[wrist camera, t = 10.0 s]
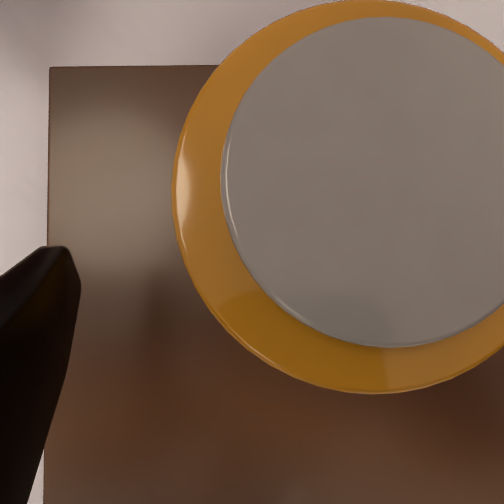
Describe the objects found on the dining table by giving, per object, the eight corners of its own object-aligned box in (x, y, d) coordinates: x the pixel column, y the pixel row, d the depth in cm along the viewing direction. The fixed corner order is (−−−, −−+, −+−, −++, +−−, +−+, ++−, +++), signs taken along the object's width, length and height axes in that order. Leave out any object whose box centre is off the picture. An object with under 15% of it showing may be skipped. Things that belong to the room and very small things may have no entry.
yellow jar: (333, 366, 11) (480, 505, 4) (178, 273, 11) (69, 256, 4) (421, 212, 11) (695, 101, 4) (269, 123, 12) (307, -121, 5)
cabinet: (434, 483, 19) (578, 635, 11) (129, 492, 19) (39, 653, 11) (418, 151, 20) (539, 59, 12) (129, 155, 20) (47, 65, 12)
